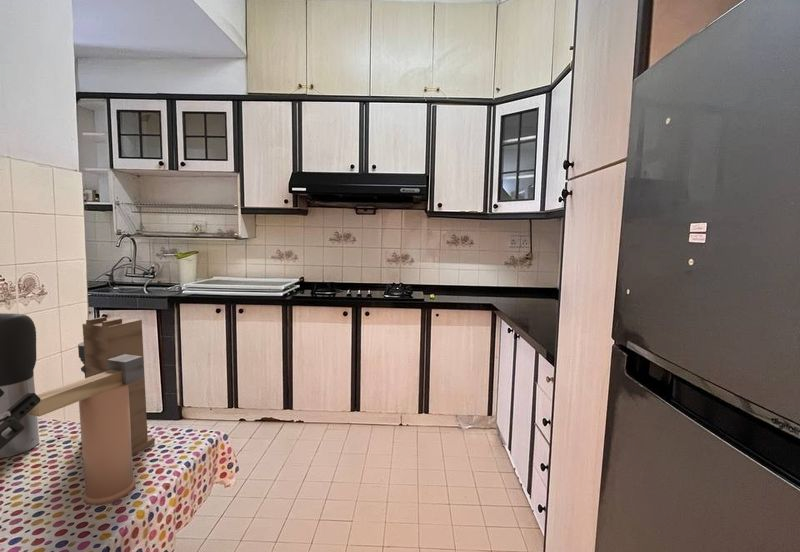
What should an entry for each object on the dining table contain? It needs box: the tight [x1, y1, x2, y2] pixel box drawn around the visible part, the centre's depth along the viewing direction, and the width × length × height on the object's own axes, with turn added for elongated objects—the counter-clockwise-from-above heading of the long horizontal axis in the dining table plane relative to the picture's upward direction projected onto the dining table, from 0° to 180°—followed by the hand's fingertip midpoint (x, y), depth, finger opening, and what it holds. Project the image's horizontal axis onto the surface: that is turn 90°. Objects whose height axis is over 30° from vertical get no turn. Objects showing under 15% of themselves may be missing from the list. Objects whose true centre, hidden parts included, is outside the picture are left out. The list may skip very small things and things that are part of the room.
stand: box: [82, 316, 156, 458], centre depth 94 cm, size 10×10×33 cm
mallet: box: [27, 354, 145, 417], centre depth 76 cm, size 5×19×5 cm, turn 165°
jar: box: [78, 384, 136, 506], centre depth 80 cm, size 9×9×22 cm
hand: (17, 392), depth 65 cm, fingers open, 8 cm apart
